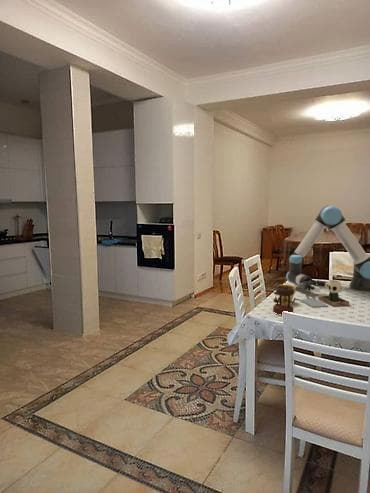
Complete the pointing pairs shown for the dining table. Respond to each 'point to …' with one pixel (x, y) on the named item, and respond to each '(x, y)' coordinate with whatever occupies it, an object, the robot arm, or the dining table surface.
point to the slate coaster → (313, 303)
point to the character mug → (334, 290)
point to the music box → (284, 292)
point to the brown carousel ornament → (287, 296)
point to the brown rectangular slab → (340, 303)
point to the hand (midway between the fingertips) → (327, 288)
